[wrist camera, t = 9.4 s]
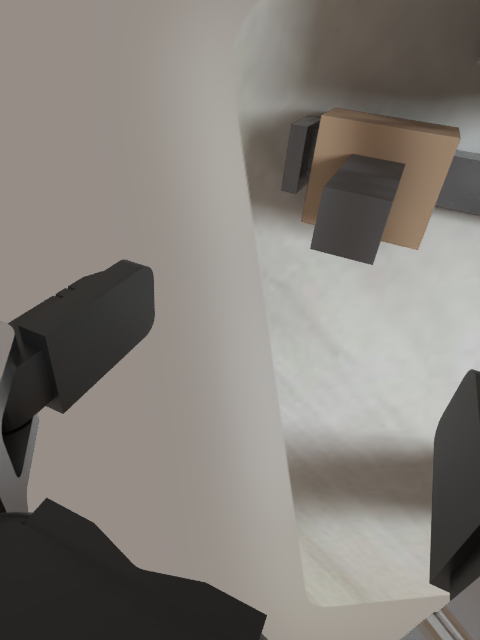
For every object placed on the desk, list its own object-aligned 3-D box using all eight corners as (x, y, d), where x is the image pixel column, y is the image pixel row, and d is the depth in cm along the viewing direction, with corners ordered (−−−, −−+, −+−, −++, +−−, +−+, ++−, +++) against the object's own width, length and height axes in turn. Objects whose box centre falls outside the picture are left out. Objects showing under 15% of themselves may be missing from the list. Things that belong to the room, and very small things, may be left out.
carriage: (457, 124, 24) (466, 170, 14) (421, 222, 27) (410, 309, 18) (339, 105, 25) (281, 136, 16) (319, 199, 29) (262, 268, 20)
